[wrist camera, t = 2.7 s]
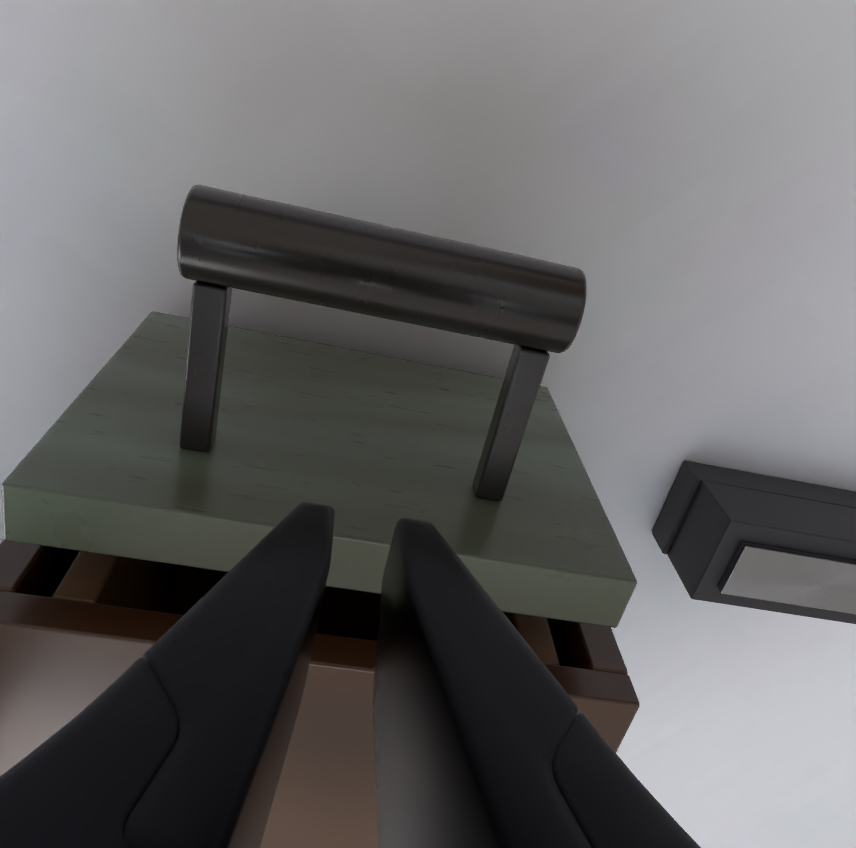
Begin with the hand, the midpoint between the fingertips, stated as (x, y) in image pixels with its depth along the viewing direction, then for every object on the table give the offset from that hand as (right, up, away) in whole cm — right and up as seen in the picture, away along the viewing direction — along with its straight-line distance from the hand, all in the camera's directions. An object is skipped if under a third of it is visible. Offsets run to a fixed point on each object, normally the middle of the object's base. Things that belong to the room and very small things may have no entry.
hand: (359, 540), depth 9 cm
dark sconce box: (+13, -2, +16) cm, 21 cm away
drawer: (-2, 0, +14) cm, 14 cm away
